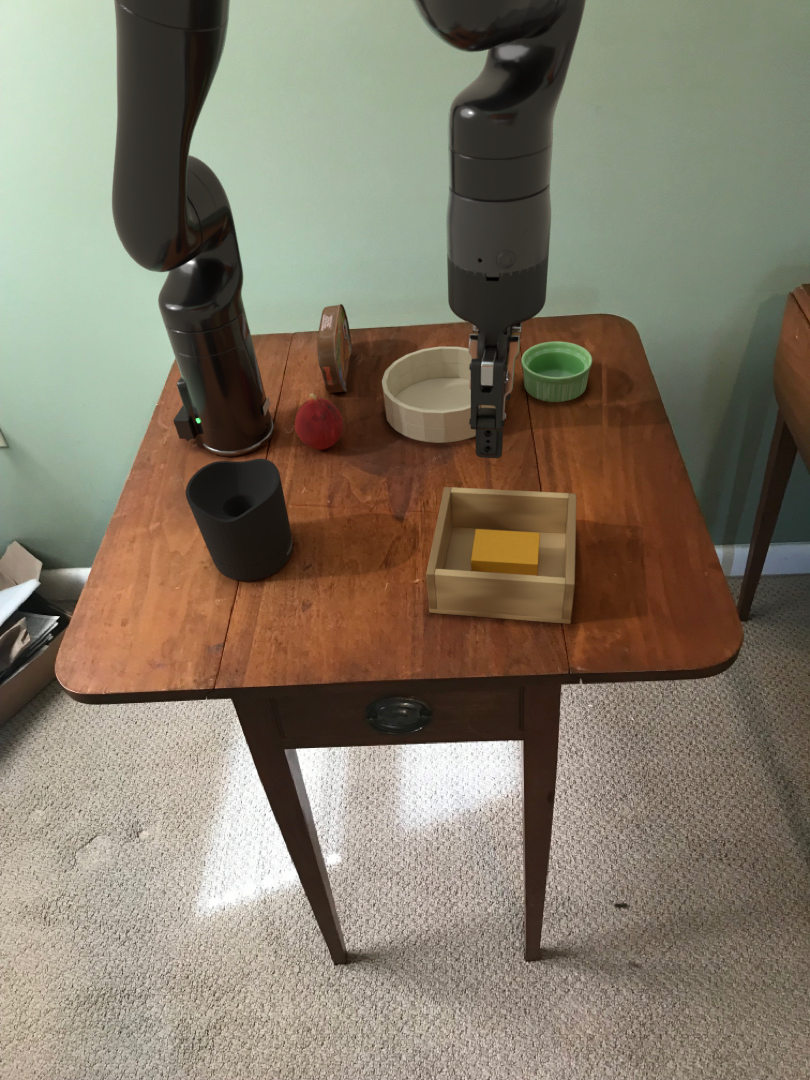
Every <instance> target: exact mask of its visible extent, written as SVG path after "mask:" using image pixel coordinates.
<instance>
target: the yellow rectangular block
mask: <svg viewBox="0 0 810 1080" xmlns="http://www.w3.org/2000/svg"><path fill="white" fill-rule="evenodd" d="M539 543H540V533H535V532H517V531H500V530H483V529H476V530H475V537H474V543H473V550H472V557H471V571H476V572H490V573H505V574H519V575H533V576H537V575H538V560H539Z"/></svg>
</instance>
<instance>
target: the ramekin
mask: <svg viewBox="0 0 810 1080" xmlns="http://www.w3.org/2000/svg"><path fill="white" fill-rule="evenodd" d="M520 360H521V367H522V370H523V371H522V372H523V385H524V389H525V391H526V392H527V394H529V396H531V397H532V398H534V399H537V400H539V401H543V402H550V403H561V402H566V401H567V402H568V401H571V400H574V399H576V398H578V397H580V396H582V394H584V392H585V391H586V389H587V386H588V385H587V384H588V379H589V374H590V371H591V368H592V364H593V356H592V355H591V353H590V352H589V350H588V349H586V348H585V347H583V346H581V345H579V344H577V343H572V342H567V341H546V342H541V343H538V344H535V345H533V346H531V347H529V348H528V349H527V350H525V351H524V352H523V354H522V356H521V359H520Z"/></svg>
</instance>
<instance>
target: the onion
mask: <svg viewBox="0 0 810 1080" xmlns="http://www.w3.org/2000/svg"><path fill="white" fill-rule="evenodd" d="M343 423H344V421H343V416H342V413H341V412H340V410H339V409H338V408H337V406H335V405H334V403H332V402H331V401H330V400H328V399H326V398H322V397H319V396H317V395H316V393H313V392H310V393H308V399H307V400H306V401H305V402H304V403H303V404H301V406H300V407H299V409H297V411H296V414H295V420H294V430H295V432H296V434H297V437H298V438H299V440H300V441H301V442H302V443H303V444H304V445H306V446H307V447H309V448H311V449H315V450H318V451H324V450H327V449H329V448H331V447H332V446H334V445H335V444H336V443H338V441H339V440H340V438H341V437H342V434H343V432H344V424H343Z"/></svg>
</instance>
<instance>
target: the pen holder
mask: <svg viewBox="0 0 810 1080" xmlns="http://www.w3.org/2000/svg"><path fill="white" fill-rule="evenodd" d="M185 497H186V501H187V503H188V506H189V508H190V510H191V513H192V515H193V518H194V520H195V523H196V525H197V527H198V529H199V532H200V535H201V536H202V540H203V541H204V544H205V547H206V548H207V551H208V553H209V555H210V558H211V560H212V562H213V564H214V566H215V568H216V569H217V571H218V572H219V573H221V574H222V575H223V576H225V577H226V578H229V579H231V580H234V581H239V582H253V581H258V580H262V579H265V578H267V577H270V576H272V575H274V574H275V573H277V572H279V570H281V569H282V568H283V567H284V566H285V565H286V564H287V562H288V561H289V560H290V558H291V556H292V554H293V549H294V541H293V536H292V530H291V524H290V520H289V514H288V509H287V503H286V498H285V494H284V489H283V484H282V479H281V474H280V470H279V469H278V467H277V466H276V464H275V463H273V461H271V460H269V459H266V458H253V459H248V460H243V461H242V460H241V461H240V460H239V461H236V460H235V461H234V460H218V461H214V462H210V463H208V464H205V465H204V466H202V467H201V468H199V469H198V470H197V471H196V472H195V473H194V474H193V475H192V476H191V477H190V479H189V480H188V482H187V485H186V488H185Z"/></svg>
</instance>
